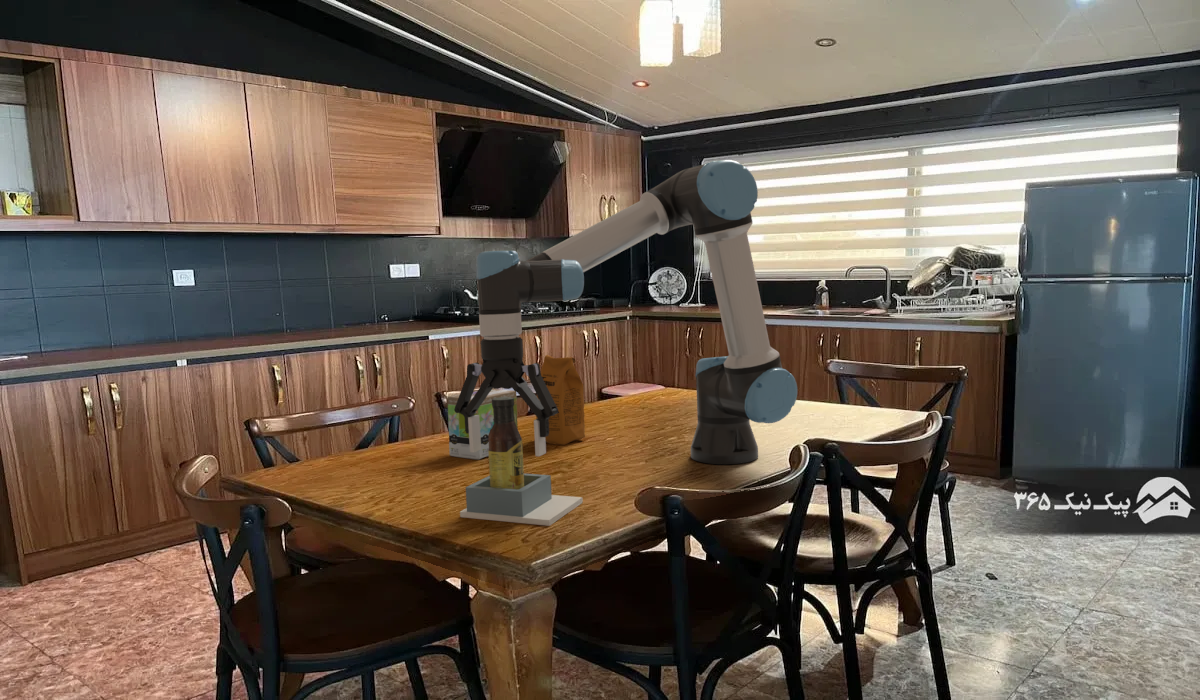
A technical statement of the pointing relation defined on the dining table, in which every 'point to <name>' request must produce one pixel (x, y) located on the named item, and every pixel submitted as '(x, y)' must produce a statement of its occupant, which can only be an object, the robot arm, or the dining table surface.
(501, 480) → the sauce bottle
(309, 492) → the dining table surface
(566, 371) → the coffee package
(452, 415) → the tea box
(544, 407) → the robot arm
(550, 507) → the bottle dock
